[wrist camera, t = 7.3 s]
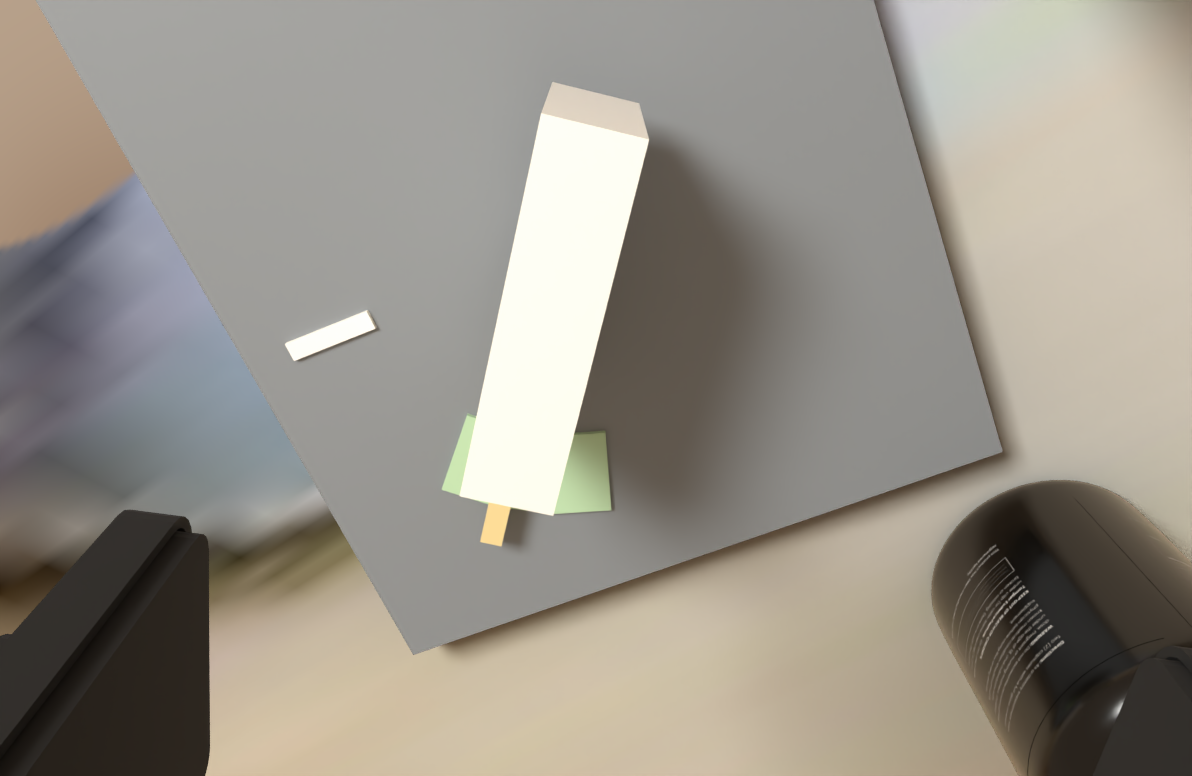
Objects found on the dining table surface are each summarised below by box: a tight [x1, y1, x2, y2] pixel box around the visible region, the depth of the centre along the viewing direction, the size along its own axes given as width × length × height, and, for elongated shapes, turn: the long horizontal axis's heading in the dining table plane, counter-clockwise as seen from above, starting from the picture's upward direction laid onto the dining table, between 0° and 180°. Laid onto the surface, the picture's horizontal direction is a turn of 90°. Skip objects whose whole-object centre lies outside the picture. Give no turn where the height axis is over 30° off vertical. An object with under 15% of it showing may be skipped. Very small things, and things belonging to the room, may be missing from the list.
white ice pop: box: [460, 82, 649, 546], centre depth 24 cm, size 12×2×6 cm, turn 167°
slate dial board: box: [36, 0, 1003, 655], centre depth 27 cm, size 18×20×2 cm
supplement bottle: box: [931, 480, 1192, 776], centre depth 26 cm, size 7×7×12 cm
